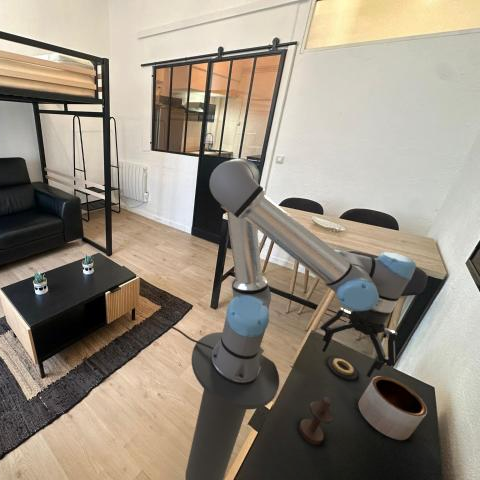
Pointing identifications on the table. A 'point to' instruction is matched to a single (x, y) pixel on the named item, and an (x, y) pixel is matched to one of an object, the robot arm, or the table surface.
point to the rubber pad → (348, 377)
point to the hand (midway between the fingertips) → (345, 361)
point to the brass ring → (337, 360)
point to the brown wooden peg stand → (316, 421)
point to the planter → (392, 407)
